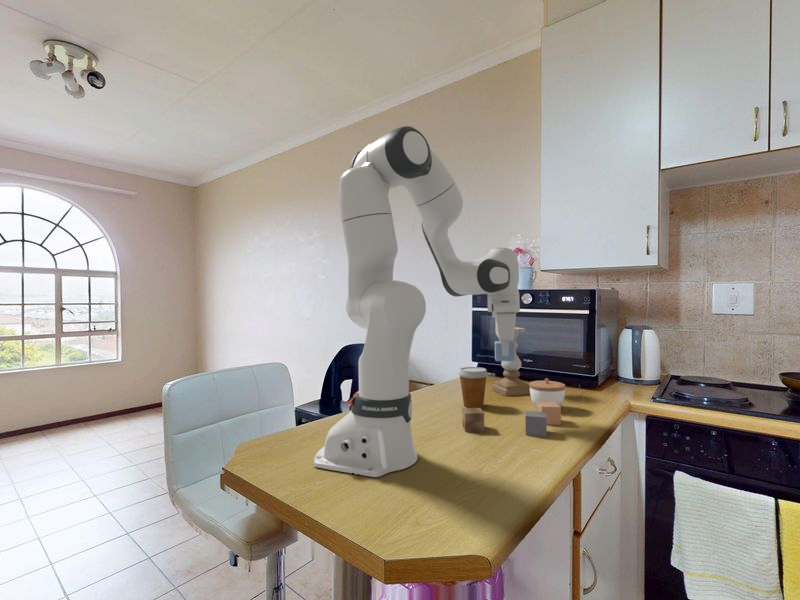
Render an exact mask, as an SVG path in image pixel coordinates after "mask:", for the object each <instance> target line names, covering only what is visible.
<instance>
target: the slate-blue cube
mask: <svg viewBox="0 0 800 600" xmlns="http://www.w3.org/2000/svg"><path fill="white" fill-rule="evenodd" d="M494 359H495V362H502V361H514V343H513V342H512V341H509V355H508V356H503V355H502V346H501V341H499V340H498V341H494Z"/></svg>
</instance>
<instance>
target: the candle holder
mask: <svg viewBox="0 0 800 600" xmlns="http://www.w3.org/2000/svg"><path fill="white" fill-rule="evenodd" d="M525 330H526V328H525V327H517V326H515V335H514V340H513V341H512V342H513V343H514V361H500V362H501V363H500V365H501V367H502V369H504V370H503V373H502V375H503V376H504V377H503V378H501V380H497V381H494V384H492V385H491V386H492V387H491V389H492V391H493V392H495V393H497V394H499V395H502V396H504V397H515V396H516V397H517V396H528V395H530V387H529V383H526V382H524V381H523V380H522V379H520V378H519V377H520V376H521V372H520V371H519V369H520V368H521V367H522V360H521V359H520V358H519V356H518V355H517V352H516V351H517V348H518V347H519V344H518V343H517V337H518V336H519V333H521V332H525Z"/></svg>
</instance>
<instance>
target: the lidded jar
mask: <svg viewBox="0 0 800 600" xmlns="http://www.w3.org/2000/svg"><path fill="white" fill-rule="evenodd" d="M528 385H529V387H530V400H531V402H532V404H534V406H536V408H537V409H538V405H537V402H556V403H557V404H558V405H559V406H560V407H561V406H562V405H563V403H564V402H565V399H566V398H565V396H566V384H565V383H563V382H559V381H556V380H555V381H553V380H549V378H544V380H533V381H531V382H529V383H528Z"/></svg>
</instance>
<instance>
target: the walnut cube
mask: <svg viewBox="0 0 800 600" xmlns="http://www.w3.org/2000/svg"><path fill="white" fill-rule="evenodd" d="M461 409H462V410H461V411H462V412H461V415H462V417H461V418H462V421H461V422H462V427H463V430H464V432H465V433H485V412H484V411H483V410H482V407H481V408H468V407H462V408H461Z"/></svg>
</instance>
